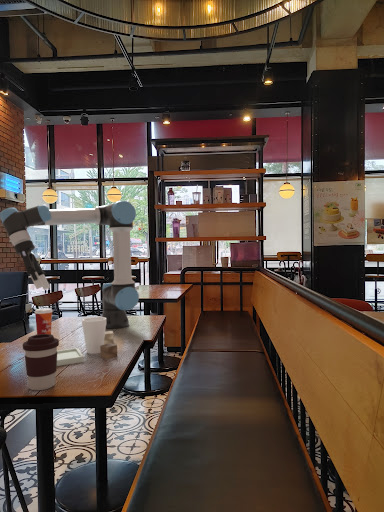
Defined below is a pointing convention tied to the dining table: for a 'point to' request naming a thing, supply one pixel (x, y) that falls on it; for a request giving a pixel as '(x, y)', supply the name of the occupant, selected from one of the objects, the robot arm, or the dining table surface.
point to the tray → (69, 356)
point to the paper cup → (43, 320)
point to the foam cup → (94, 333)
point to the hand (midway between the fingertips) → (43, 288)
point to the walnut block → (108, 351)
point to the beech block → (109, 337)
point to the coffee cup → (41, 361)
